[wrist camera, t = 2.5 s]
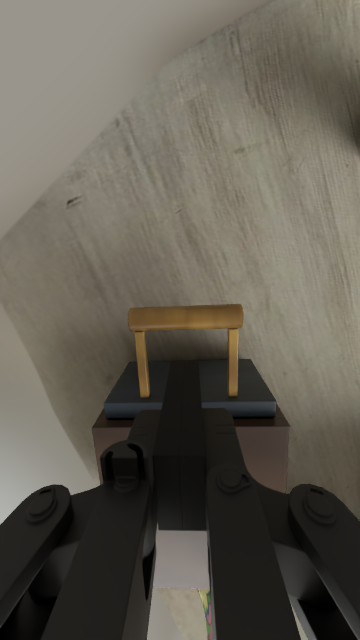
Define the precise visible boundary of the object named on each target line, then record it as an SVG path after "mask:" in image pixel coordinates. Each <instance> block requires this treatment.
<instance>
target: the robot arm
mask: <svg viewBox="0 0 360 640" xmlns="http://www.w3.org/2000/svg"><path fill="white" fill-rule="evenodd" d="M100 464H101V471H102V477H103V484H101V485H99V486H98V487H96V488H93V489H91V490H88V491H84V492H81V493H78V494H74V495H70V493H69V490H68V488H66V487H64V486H63V485H50V486H46V487H43V488H41V489H39V490H37V491H36V492H34V493H32V494H31V495H30V496H29V497H27V498H26V499H25V500H24V501H23V502H22V503H21V504H20V505H19V506H18V507H17V508H16V509H15V510H14V511H13V512H12V513H11V514H10V515H9V516H8V517H7V518H6V519H5V521H4V522H3V523H2V524H1V525H0V640H147V632H148V623H149V615H150V606H151V597H152V589H153V580H154V571H155V563H156V554H157V552H156V531H157V523H158V529H159V530H165V531H207V549H208V574H209V587H210V605H211V623H212V640H301V638H300V635H299V631H298V628H297V624H296V621H295V617H294V614H293V611H292V607H291V604H292V606H293V609H294V611H295V613H296V615H297V617H298V619H299V621H300V624H301V626H302V628H303V630H304V632H305V634H306V636H307V638H308V640H360V521H359V520H358V519H357V518H356V517H355V516H354V515H353V514H352V512H351V511H350V510H349V509H348V508H347V507H346V506H345V505H344V503H343V502H341V501H340V500H339V499H338V498H337V497H336V496H335V495H334V494H332V493H331V492H329V491H327V490H325V489H323V488H322V487H319V486H315V485H311V484H300V485H298V486H296V487H294V488H293V489H292V491H291V492H290V494H286V493H282V492H279V491H276V490H273V489H270V488H268V487H265V486H263V485H262V484H260V483H259V482H257V481H256V480H255V479H254V478H253V477H252V475H251V474H250V473H249V472H248V470H247V468H246V465H245V462H244V458H243V454H242V451H241V447H240V443H239V440H238V436H237V432H236V429H235V426H234V421H233V418H232V415H231V414H230V413H229V412H228V411H227V410H226V409H225V408H202V402H201V389H200V376H199V364H198V361H171V364H170V369H169V374H168V379H167V384H166V389H165V394H164V399H163V404H162V409H161V410H142V411H141V412H140V413H139V414H138V415H137V416H136V417H135V419H134V421H133V424H132V428H131V430H130V432H129V436H128V438H127V440H123V441H119V442H117V443H115V444H112V445H111V446H110V447H108V448H107V449H106V450H104V452H103V453H102V455H101V456H100ZM290 602H291V604H290Z"/></svg>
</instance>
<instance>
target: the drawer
mask: <svg viewBox="0 0 360 640" xmlns="http://www.w3.org/2000/svg"><path fill="white" fill-rule="evenodd" d="M128 324H129V328H130V330H131V331H135V333H134V334H135V344H136V355H137V362H129V364H128V365H127V367H126V368H125V370H124V372H123V373H122V375H121V376H120V378H119V380H118V381H117V383H116V385H115V386H114V388H113V389H112V391H111V393H110V394H109V396H108V398H107V399H106V401H105V402H104V408H105V416H106V418H125V420H134V419H135V417H136V416H137V415H138V414H139V413H140V412H141V411H142V410H161V409H162V404H163V399H164V394H165V389H166V384H167V379H168V374H169V369H170V364H171V361H155V362H148V361H147V349H146V337H145V331H157V330H190V329H222V328H228V360H197V361H198V364H199V376H200V389H201V402H202V408H225V409H226V410H227V411H228V412H229V413H230V414H231V415H232V418H233V419H257V417H275V416H276V400H275V398H274V396H273V395H272V393H271V392H270V390H269V388H268V387H267V385H266V383H265V382H264V380H263V379H262V377H261V375H260V374H259V372H258V370H257V369H256V367H255V366H254V364H253V362H252V361H251V359H239V360H238V328H242V326H243V308H242V305H241V304H227V305H199V306H172V307H144V308H130V309H129V313H128Z"/></svg>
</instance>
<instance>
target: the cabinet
mask: <svg viewBox="0 0 360 640" xmlns="http://www.w3.org/2000/svg"><path fill="white" fill-rule="evenodd" d="M133 421H134V420H125V418H106V416H105V408H104V409H103V410H102V412H101V414H100V415H99V417H98V419H97V420H96V422H95V424H94V425H93V427H92V433H93V439H94V446H95V452H96V458H97V465H98V471H99V478H100V484H103V477H102V471H101V464H100V456H101V455H102V453H103V452H104V450H106V449H107V448H108V447H110V446H111V445H112V444H115V443H117V442H119V441H123V440H127V438H128V436H129V432H130V430H131V428H132V424H133ZM233 421H234V426H235V429H236V432H237V436H238V440H239V443H240V447H241V451H242V454H243V458H244V462H245V465H246V468H247V470H248V472H249V473H250V474H251V475H252V477H253V478H254V479H255V480H256V481H257V482H259V483H260V484H262V485H263V486H265V487H268V488H270V489H273V490H276V491H279V492H282V493H286V480H287V467H288V454H289V441H290V428H291V426H290V425H289V423H288V421H287V420H286V419H285V417H284V415H283V413H282V412H281V410H280V408H279V407H278V405H277V403H276V416H275V417H257V419H233ZM156 552H157V554H156V563H155V571H154V580H153V588H184V589H210V587H209V574H208V549H207V531H165V530H159V529H158V523H157V531H156Z"/></svg>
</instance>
